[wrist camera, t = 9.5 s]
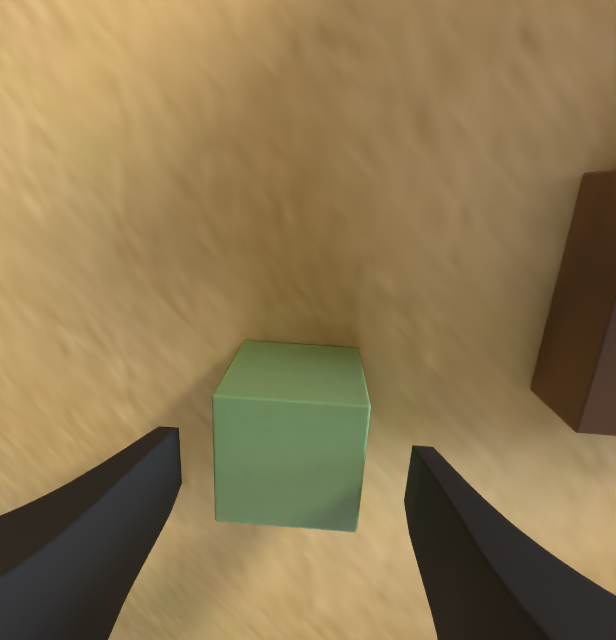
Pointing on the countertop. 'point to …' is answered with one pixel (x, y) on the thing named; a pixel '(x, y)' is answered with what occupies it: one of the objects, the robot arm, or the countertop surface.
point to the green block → (291, 436)
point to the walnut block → (584, 317)
